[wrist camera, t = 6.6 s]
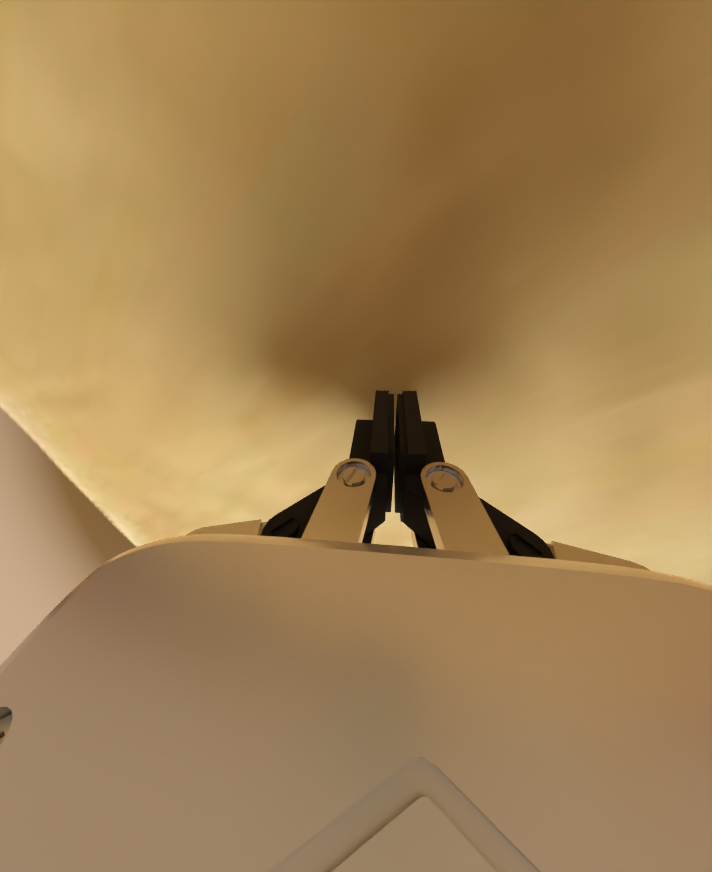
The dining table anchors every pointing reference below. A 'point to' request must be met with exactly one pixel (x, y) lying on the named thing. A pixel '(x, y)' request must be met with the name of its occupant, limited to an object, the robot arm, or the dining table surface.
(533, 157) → the dining table surface
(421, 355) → the dining table surface
